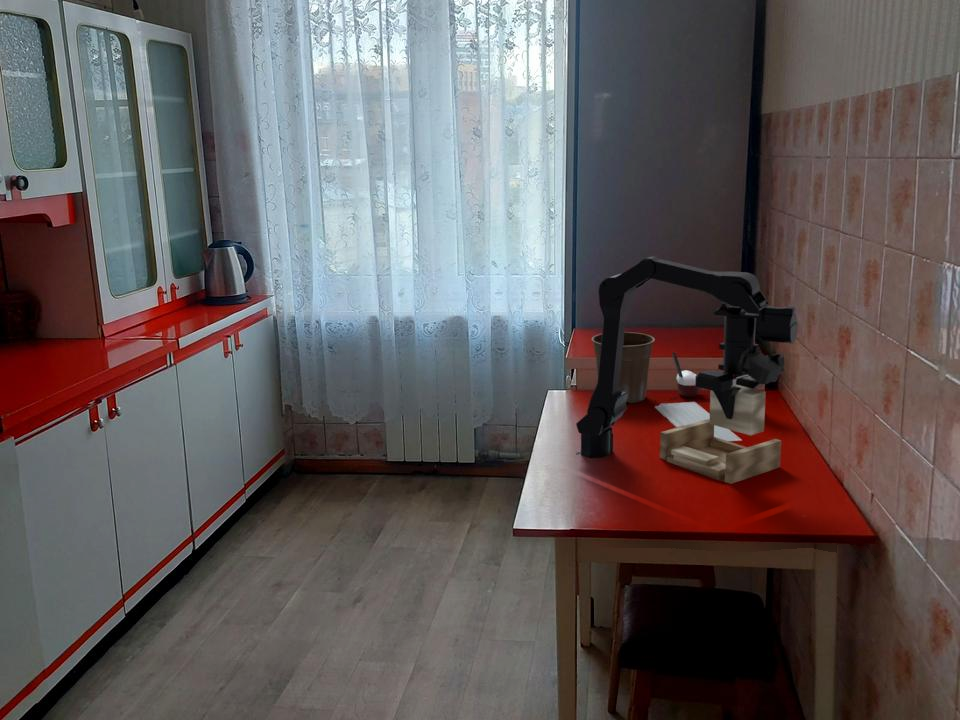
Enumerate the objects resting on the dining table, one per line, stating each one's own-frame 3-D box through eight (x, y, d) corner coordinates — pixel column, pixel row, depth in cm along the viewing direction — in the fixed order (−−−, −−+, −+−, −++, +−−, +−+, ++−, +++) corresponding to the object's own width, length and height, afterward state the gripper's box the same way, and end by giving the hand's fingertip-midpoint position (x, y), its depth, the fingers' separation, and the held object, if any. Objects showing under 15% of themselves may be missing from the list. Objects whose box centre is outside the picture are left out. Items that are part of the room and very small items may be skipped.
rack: (730, 487, 180) (732, 456, 179) (659, 461, 196) (660, 432, 194) (779, 470, 189) (781, 440, 187) (708, 446, 204) (709, 418, 202)
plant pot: (638, 410, 232) (639, 347, 228) (580, 401, 241) (581, 341, 237) (662, 394, 246) (664, 335, 242) (607, 386, 254) (607, 329, 250)
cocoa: (702, 393, 247) (705, 349, 244) (706, 399, 241) (709, 354, 238) (666, 392, 247) (669, 348, 245) (669, 398, 241) (672, 353, 239)
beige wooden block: (750, 435, 176) (752, 395, 175) (709, 423, 184) (710, 385, 182) (763, 431, 179) (765, 391, 177) (722, 419, 187) (723, 381, 185)
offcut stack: (718, 480, 182) (718, 466, 181) (666, 461, 193) (666, 448, 192) (732, 476, 184) (733, 461, 183) (680, 457, 195) (680, 444, 195)
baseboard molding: (690, 449, 204) (742, 446, 206) (690, 437, 204) (742, 434, 205) (648, 409, 234) (694, 407, 236) (649, 398, 234) (695, 396, 235)
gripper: (742, 353, 166) (739, 436, 169) (804, 338, 176) (800, 416, 180) (694, 343, 174) (692, 422, 178) (756, 329, 185) (753, 404, 189)
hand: (736, 416), depth 181 cm, fingers closed on beige wooden block, 4 cm apart
